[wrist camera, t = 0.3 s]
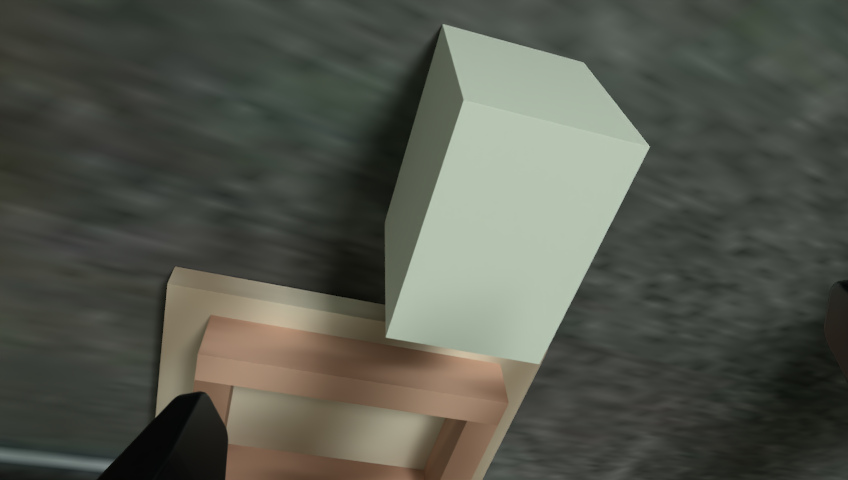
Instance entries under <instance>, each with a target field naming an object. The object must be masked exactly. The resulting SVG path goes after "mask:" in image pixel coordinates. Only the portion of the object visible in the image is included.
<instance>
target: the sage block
mask: <svg viewBox="0 0 848 480" xmlns="http://www.w3.org/2000/svg"><path fill="white" fill-rule="evenodd" d="M649 147H650V146H649V145H648V144H647V143H646V141H645V140H644V139H643V137H642V136H641V135H640V134H639V132H638V131H637V130H636V129H635V127H634V126H633V125H632V123H631V122H630V121H629V120H628V118H627V117H626V116H625V115H624V113H623V112H622V111H621V109H620V108H619V107H618V106H617V104H616V103H615V102H614V101H613V99H612V98H611V97H610V95H609V94H608V93H607V92H606V90H605V89H604V88H603V87H602V85H601V84H600V83H599V81H598V80H597V79H596V78H595V76H594V75H593V74H592V73H591V71H590V70H589V69H588V68H587V66H586V65H585V64H584V63H583V62H580V61H576V60H572V59H569V58H565V57H561V56H558V55H554V54H550V53H547V52H543V51H539V50H536V49H532V48H528V47H525V46H521V45H517V44H514V43H510V42H506V41H503V40H499V39H495V38H492V37H488V36H484V35H481V34H477V33H473V32H470V31H466V30H462V29H459V28H455V27H451V26H448V25H444V24H442V28H441V31H440V35H439V38H438V41H437V45H436V48H435V52H434V55H433V59H432V62H431V65H430V69H429V72H428V76H427V79H426V83H425V86H424V89H423V93H422V96H421V100H420V103H419V107H418V110H417V114H416V117H415V120H414V124H413V127H412V131H411V134H410V138H409V141H408V144H407V148H406V151H405V155H404V158H403V162H402V165H401V168H400V172H399V175H398V179H397V182H396V186H395V189H394V192H393V196H392V199H391V203H390V206H389V210H388V213H387V217H386V220H385V315H386V338H391V339H397V340H403V341H408V342H414V343H420V344H426V345H431V346H437V347H443V348H449V349H454V350H460V351H466V352H471V353H477V354H483V355H489V356H494V357H500V358H506V359H512V360H517V361H523V362H529V363H534V364H540V362H541V360H542V358H543V356H544V354H545V352H546V350H547V348H548V346H549V344H550V343H551V341H552V339H553V337H554V335H555V333H556V331H557V329H558V327H559V325H560V323H561V321H562V319H563V317H564V315H565V313H566V311H567V309H568V307H569V305H570V303H571V301H572V299H573V297H574V295H575V293H576V291H577V289H578V287H579V285H580V283H581V281H582V279H583V277H584V276H585V274H586V272H587V270H588V268H589V266H590V264H591V262H592V260H593V258H594V256H595V254H596V252H597V250H598V248H599V246H600V244H601V242H602V240H603V238H604V236H605V234H606V232H607V230H608V228H609V226H610V224H611V222H612V220H613V218H614V216H615V214H616V212H617V210H618V209H619V207H620V205H621V203H622V201H623V199H624V197H625V195H626V193H627V191H628V189H629V187H630V185H631V183H632V181H633V179H634V177H635V175H636V173H637V171H638V169H639V167H640V165H641V163H642V161H643V159H644V157H645V155H646V153H647V151H648V149H649Z"/></svg>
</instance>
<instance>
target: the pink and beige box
mask: <svg viewBox="0 0 848 480" xmlns="http://www.w3.org/2000/svg"><path fill="white" fill-rule="evenodd" d="M546 353H547V350H546V352H545V354H544V356H543V358H542V360H541V362H540V364H534V363H529V362H523V361H517V360H512V359H506V358H500V357H494V356H489V355H483V354H477V353H471V352H466V351H460V350H454V349H449V348H443V347H437V346H431V345H426V344H420V343H414V342H408V341H403V340H397V339H391V338H386V315H385V305H383V304H378V303H372V302H367V301H361V300H356V299H350V298H345V297H339V296H334V295H328V294H323V293H317V292H312V291H306V290H301V289H296V288H290V287H285V286H279V285H274V284H268V283H263V282H257V281H252V280H246V279H241V278H235V277H230V276H224V275H219V274H213V273H208V272H202V271H197V270H191V269H186V268H180V267H175V268H174V270H173V272H172V274H171V277H170V279H169V281H168V284H167V294H166V305H165V316H164V327H163V339H162V350H161V361H160V372H159V383H158V394H157V405H156V416H155V418H156V417H157V416H158V414H159V413H160V412H161V411H162V410H163V409H164V408H165V407H166V406H167V405H168V404H169V403H170V402H171V401H172V400H173V399H174V398H175V397H176V396H178V395H181V394H187V393H192V392H198V391H202V392H205V393H207V394H208V395H209V397H210V398H211V400H212V402H213V404H214V406H215V407H216V409H217V411H218V413H219V415H220V417H221V419H222V420H223V422H224V424H225V426H226V429H227V433H228V453H227V465H226V478H225V480H482V479H483V477H484V475H485V473H486V471H487V469H488V467H489V465H490V463H491V461H492V459H493V457H494V455H495V453H496V451H497V449H498V448H499V446H500V444H501V442H502V440H503V438H504V436H505V434H506V432H507V430H508V428H509V426H510V424H511V422H512V420H513V418H514V416H515V414H516V412H517V410H518V408H519V406H520V404H521V402H522V400H523V398H524V396H525V394H526V392H527V390H528V388H529V386H530V384H531V383H532V381H533V379H534V377H535V375H536V373H537V371H538V369H539V367H540V365H541V363H542V361H543V359H544V357H545V355H546Z"/></svg>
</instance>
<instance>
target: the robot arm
mask: <svg viewBox="0 0 848 480" xmlns="http://www.w3.org/2000/svg"><path fill="white" fill-rule="evenodd" d="M824 334H825V338H826V341H827V344H828V346H829V348H830V349H831V351H832V353H833V355H834V357H835V359H836V361H837V363H838V365H839V367H840V368H841V370H842V372H843V374H844V376H845V378H846V380H847V382H848V280H843V281H838V282H836V283H835V284H834V285H833V286H832V287H831V290H830V295H829V300H828V306H827V311H826V317H825V322H824ZM227 453H228V433H227V429H226V426H225V424H224V422H223V420H222V419H221V417H220V415H219V413H218V411H217V409H216V407H215V406H214V404H213V402H212V400H211V398H210V397H209V395H208V394H207V393H205V392H202V391H198V392H192V393H187V394H181V395H178V396H176V397H175V398H174V399H173V400H172V401H171V402H170V403H169V404H168V405H167V406H166V407H165V408H164V409H163V410H162V411H161V412H160V413H159V414H158V416H157V417H156V418H155V419H154V420H153V421H152V422H151V423H150V424H149V425H148V426H147V427H146V428H145V429H144V430H143V431H142V432H141V433H140V434H139V435H138V437H137V438H136V439H135V440H134V441H133V442H132V443H131V444H130V445H129V446H128V447H127V448H126V449H125V450H124V451H123V452H122V453H121V454H120V455H119V456H118V458H117V459H116V460H115V461H114V462H113V463H112V464H111V465H110V466H109V467H108V468H107V469H106V470H105V471H104V472H103V473H102V474H101V475H100V476H99V477H98V479H97V480H225V478H226V465H227Z"/></svg>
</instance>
